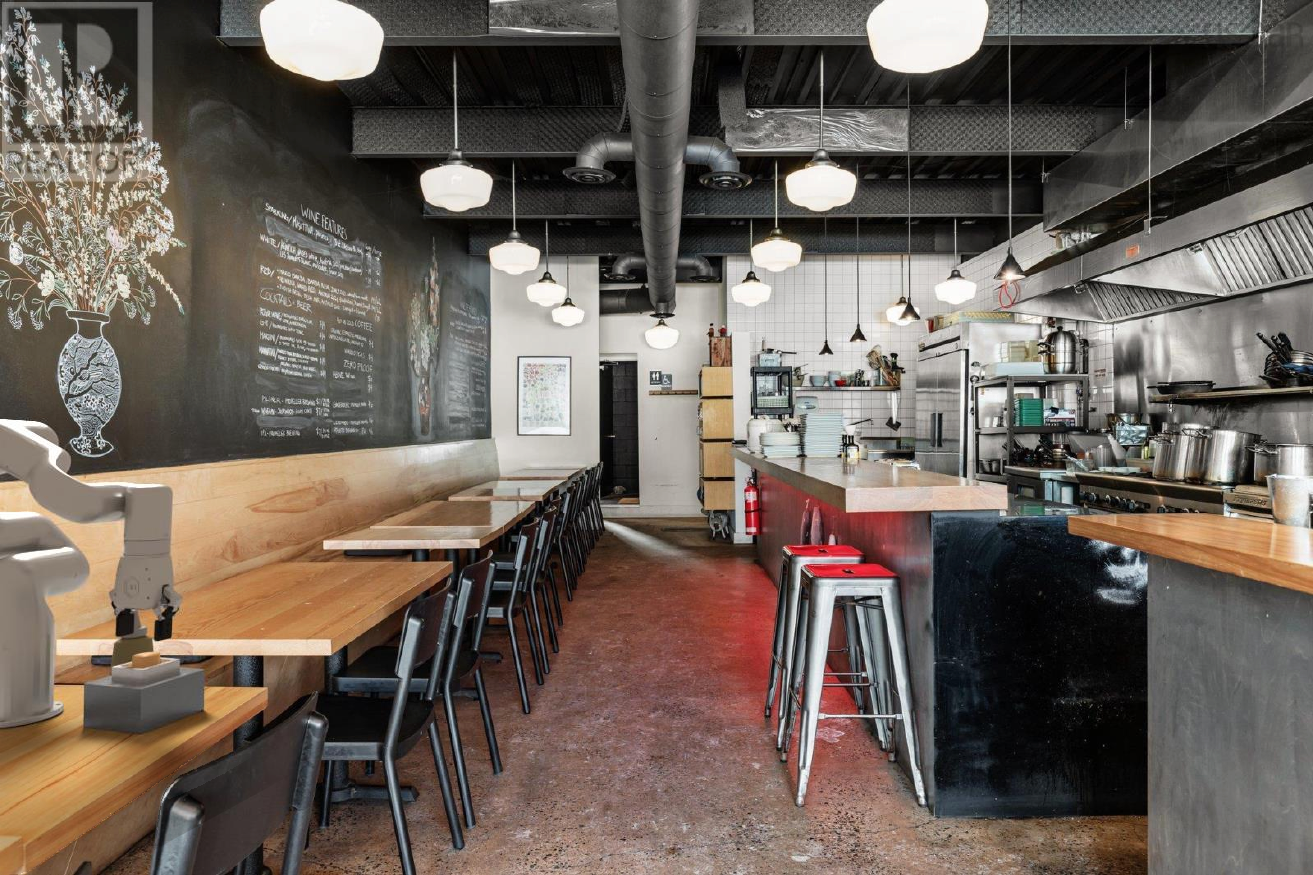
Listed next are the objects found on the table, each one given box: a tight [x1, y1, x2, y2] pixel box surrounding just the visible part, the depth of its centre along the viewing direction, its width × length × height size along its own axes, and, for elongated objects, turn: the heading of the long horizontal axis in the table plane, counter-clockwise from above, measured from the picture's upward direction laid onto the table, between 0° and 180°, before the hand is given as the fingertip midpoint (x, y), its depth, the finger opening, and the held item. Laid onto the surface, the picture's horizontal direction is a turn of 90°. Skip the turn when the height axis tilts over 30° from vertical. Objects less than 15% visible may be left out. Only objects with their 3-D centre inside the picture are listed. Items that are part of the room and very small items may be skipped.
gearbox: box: [82, 656, 206, 735], centre depth 138 cm, size 14×13×10 cm
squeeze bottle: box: [109, 609, 155, 676], centre depth 151 cm, size 8×8×18 cm
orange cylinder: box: [132, 651, 161, 669], centre depth 138 cm, size 4×4×9 cm
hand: (143, 637), depth 138 cm, fingers open, 9 cm apart
